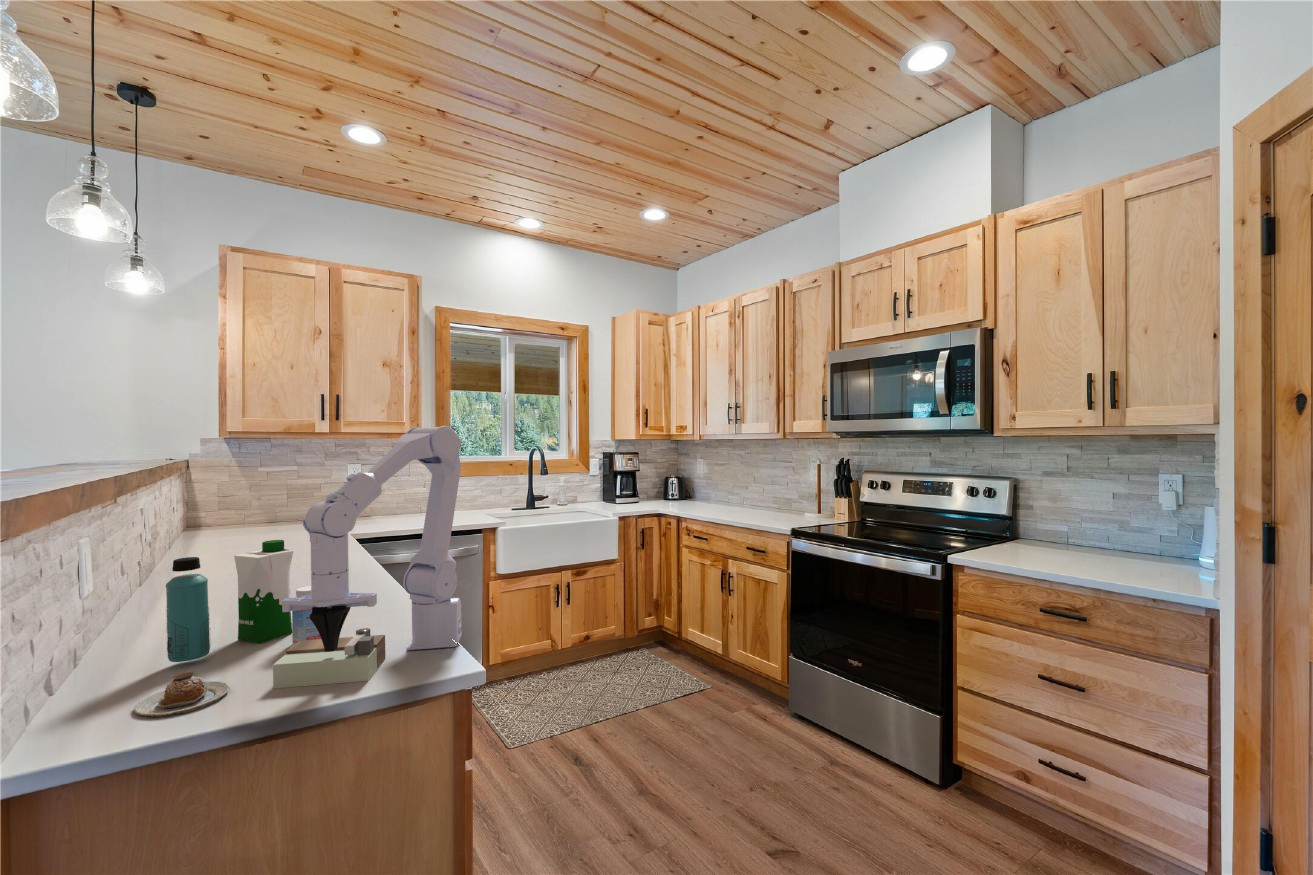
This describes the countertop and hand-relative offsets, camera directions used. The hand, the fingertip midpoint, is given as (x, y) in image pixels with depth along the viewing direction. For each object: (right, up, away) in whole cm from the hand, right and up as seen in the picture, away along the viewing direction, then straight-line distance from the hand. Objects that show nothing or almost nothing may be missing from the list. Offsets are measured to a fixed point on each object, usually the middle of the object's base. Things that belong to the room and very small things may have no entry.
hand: (331, 649), depth 103 cm
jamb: (-2, -5, +6) cm, 8 cm away
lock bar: (+3, -1, +3) cm, 4 cm away
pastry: (-20, -6, -7) cm, 22 cm away
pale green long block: (-1, -5, +1) cm, 5 cm away
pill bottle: (-15, -6, +20) cm, 25 cm away
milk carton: (-27, -6, +24) cm, 36 cm away
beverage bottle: (-31, -6, +9) cm, 33 cm away
